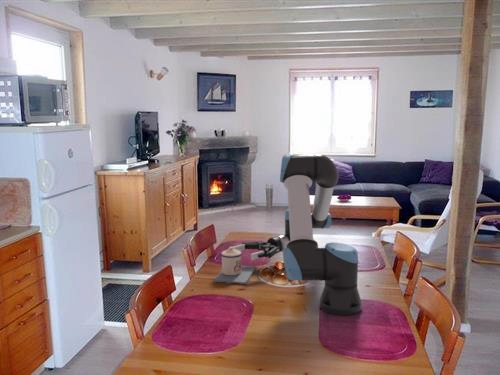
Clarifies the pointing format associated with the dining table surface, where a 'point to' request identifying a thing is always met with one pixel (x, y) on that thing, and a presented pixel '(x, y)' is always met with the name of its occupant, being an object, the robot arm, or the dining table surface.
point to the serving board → (237, 276)
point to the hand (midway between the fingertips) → (242, 253)
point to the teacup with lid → (231, 261)
